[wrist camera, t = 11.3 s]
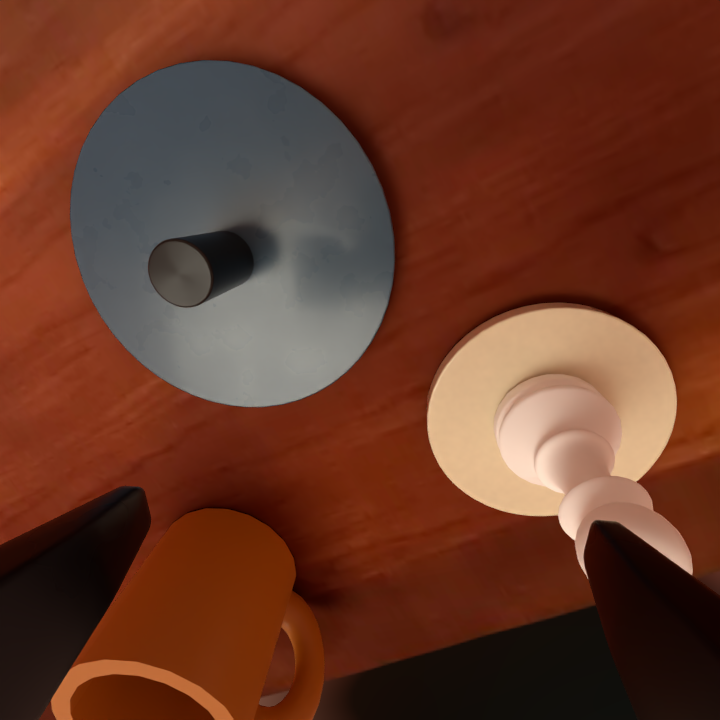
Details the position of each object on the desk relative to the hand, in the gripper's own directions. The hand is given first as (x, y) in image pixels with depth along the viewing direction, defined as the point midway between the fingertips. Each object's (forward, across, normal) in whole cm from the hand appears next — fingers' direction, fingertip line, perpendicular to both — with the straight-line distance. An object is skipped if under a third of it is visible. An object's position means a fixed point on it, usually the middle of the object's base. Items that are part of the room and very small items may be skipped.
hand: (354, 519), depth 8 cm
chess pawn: (+11, -8, +4) cm, 14 cm away
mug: (+12, +9, +16) cm, 22 cm away
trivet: (+12, -8, +4) cm, 15 cm away
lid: (+12, +7, -4) cm, 14 cm away
